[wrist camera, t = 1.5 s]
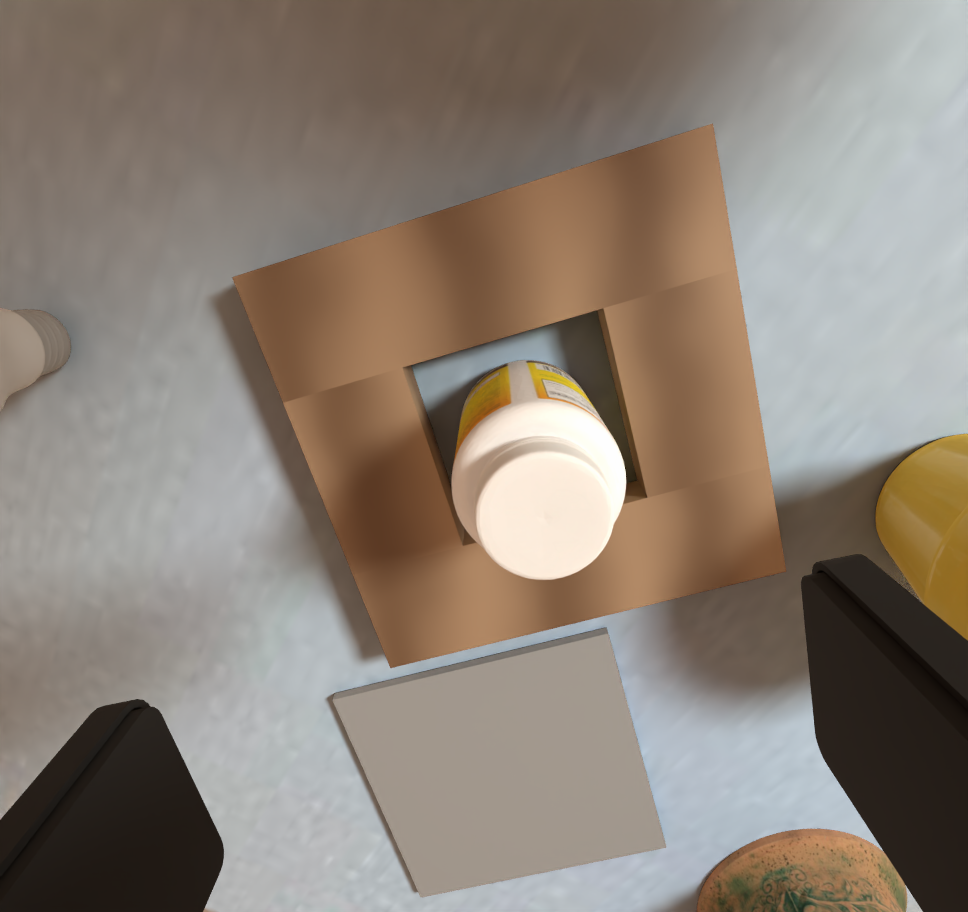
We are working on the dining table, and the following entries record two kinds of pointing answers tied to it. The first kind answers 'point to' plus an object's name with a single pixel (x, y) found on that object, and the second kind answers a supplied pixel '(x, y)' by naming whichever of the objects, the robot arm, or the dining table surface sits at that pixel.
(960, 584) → the plant pot
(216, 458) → the dining table surface
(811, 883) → the mug
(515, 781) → the grey mat
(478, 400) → the supplement bottle
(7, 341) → the lightbulb
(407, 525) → the wooden square frame
